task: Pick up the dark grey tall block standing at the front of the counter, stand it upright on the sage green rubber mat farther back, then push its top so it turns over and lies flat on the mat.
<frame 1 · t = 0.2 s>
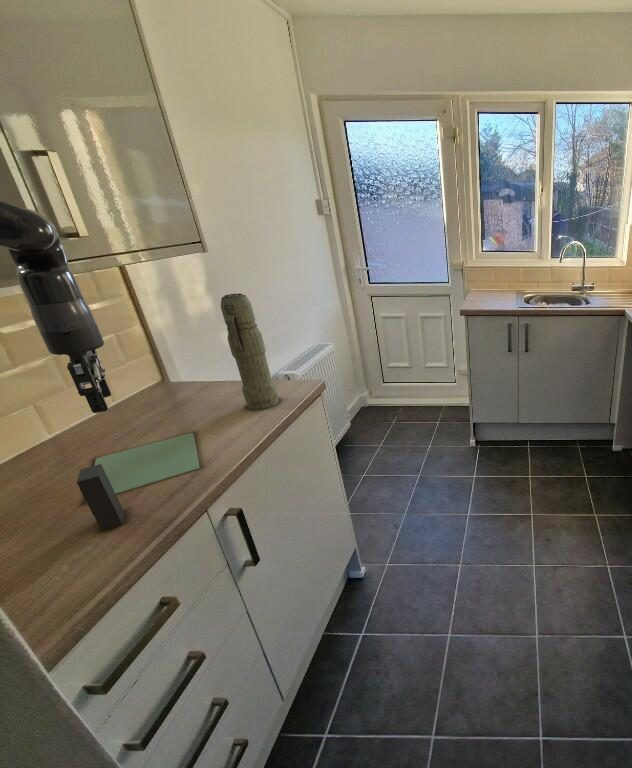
hand: (102, 404, 83), 22 cm above the countertop, tool pointing down, fingers open, 8 cm apart
dark grey tall block: (114, 522, 83), on the countertop
mat: (147, 464, 102), on the countertop
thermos: (264, 405, 132), on the countertop
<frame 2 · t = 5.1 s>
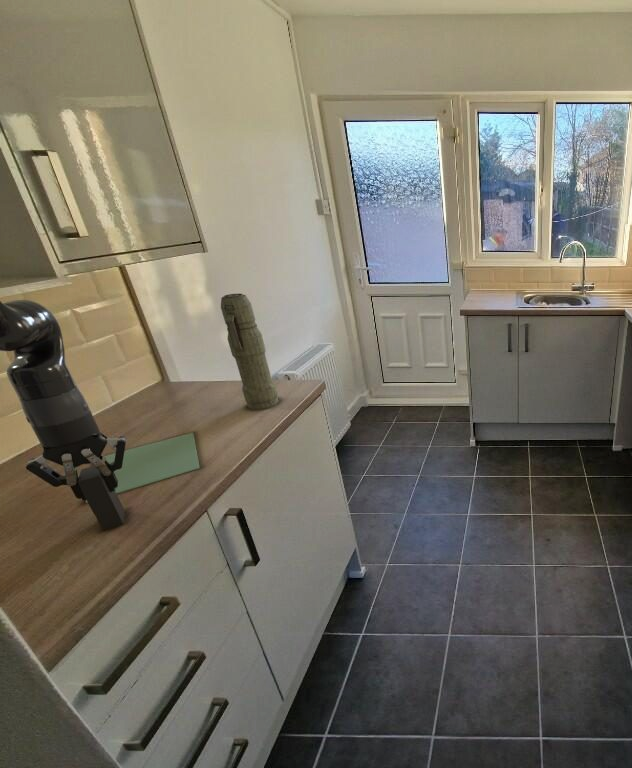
hand: (99, 493, 80), 7 cm above the countertop, tool pointing down, fingers closed on dark grey tall block, 3 cm apart
dark grey tall block: (115, 521, 83), on the countertop, touching gripper
everything else where it was.
when the fingers open (8 cm above the countertop, at t = 12.7 s): dark grey tall block stays where it is, resting on mat.
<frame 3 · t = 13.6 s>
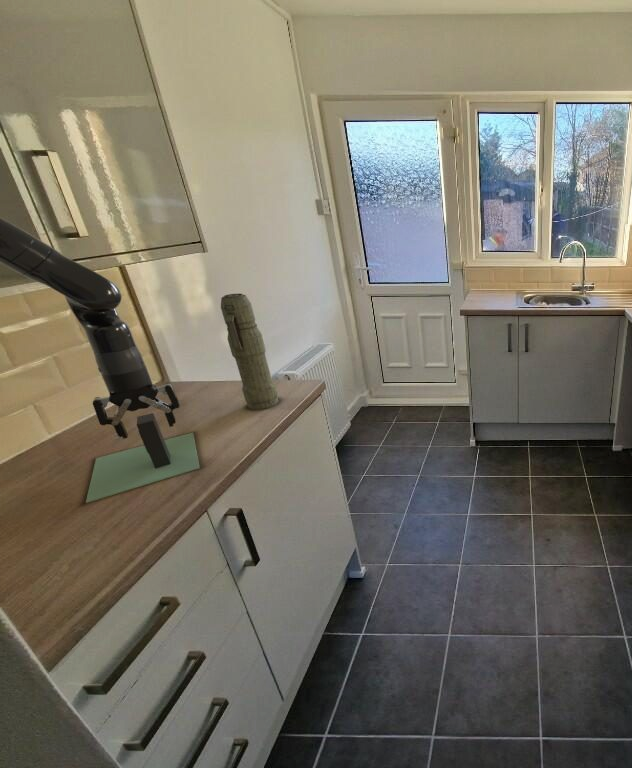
hand: (149, 431, 98), 9 cm above the countertop, tool pointing down, fingers open, 8 cm apart
dark grey tall block: (162, 461, 102), point 1 cm above the countertop, touching mat
everything else where it was.
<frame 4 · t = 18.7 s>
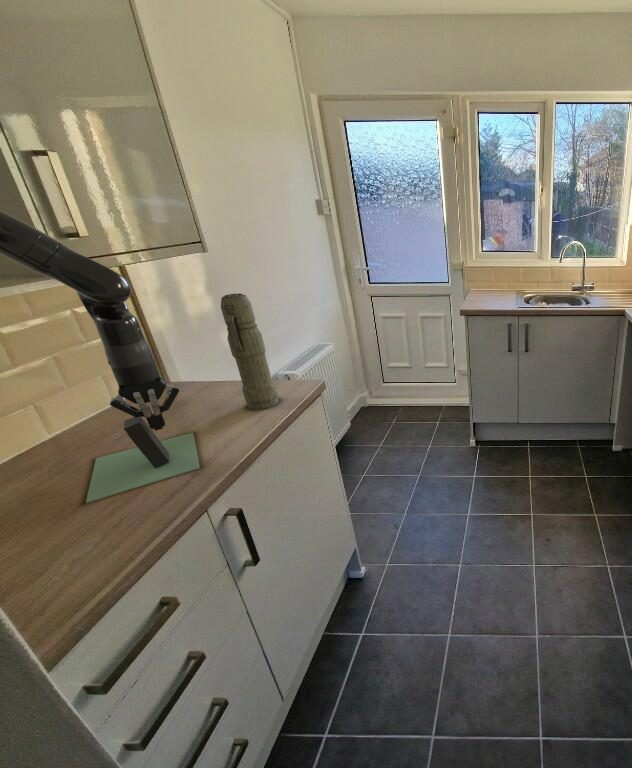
hand: (159, 428, 99), 9 cm above the countertop, tool pointing down, fingers closed
dark grey tall block: (162, 460, 102), point 1 cm above the countertop, tilted 11°, touching gripper, mat
everything else where it was.
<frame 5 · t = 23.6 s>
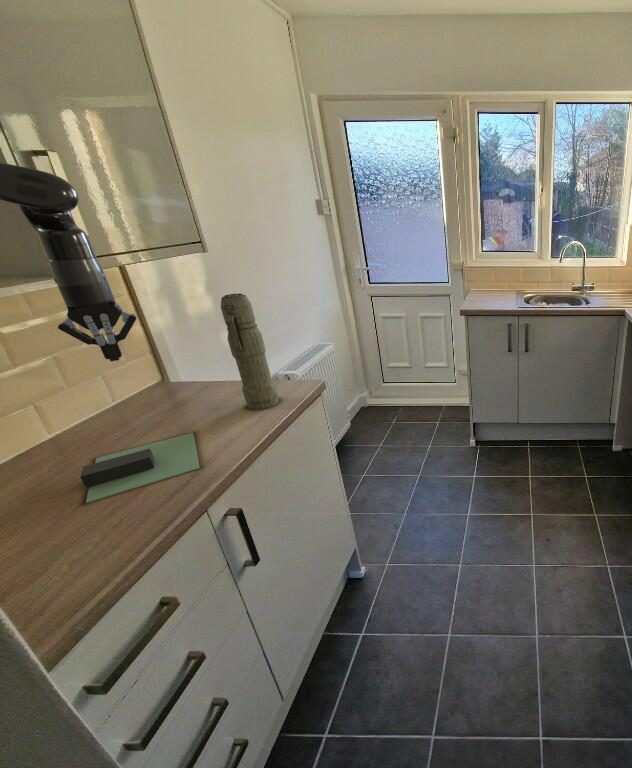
hand: (115, 359, 92), 27 cm above the countertop, tool pointing down, fingers closed
dark grey tall block: (152, 457, 100), point 2 cm above the countertop, tilted 90°, touching mat
everything else where it was.
at the end: dark grey tall block tilted 90°; dark grey tall block inside the target area on the mat (2.6 cm from its centre), point 2.3 cm above the mat's base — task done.
